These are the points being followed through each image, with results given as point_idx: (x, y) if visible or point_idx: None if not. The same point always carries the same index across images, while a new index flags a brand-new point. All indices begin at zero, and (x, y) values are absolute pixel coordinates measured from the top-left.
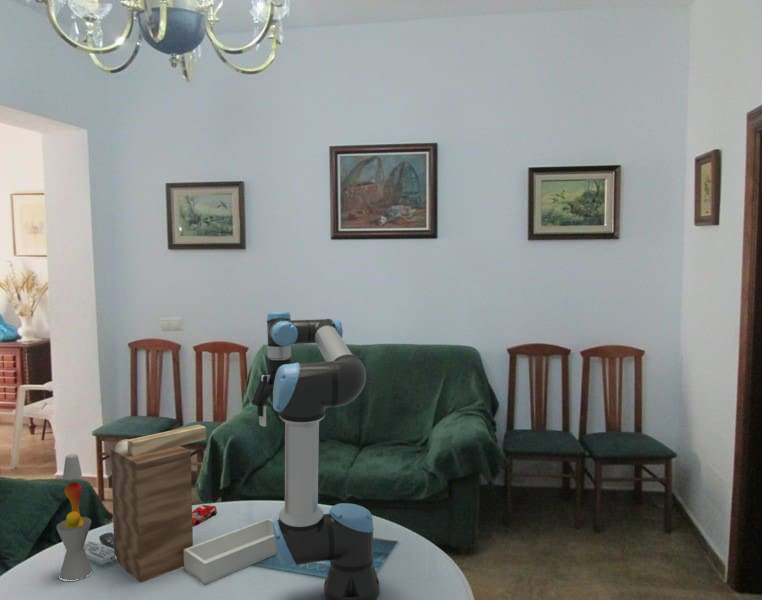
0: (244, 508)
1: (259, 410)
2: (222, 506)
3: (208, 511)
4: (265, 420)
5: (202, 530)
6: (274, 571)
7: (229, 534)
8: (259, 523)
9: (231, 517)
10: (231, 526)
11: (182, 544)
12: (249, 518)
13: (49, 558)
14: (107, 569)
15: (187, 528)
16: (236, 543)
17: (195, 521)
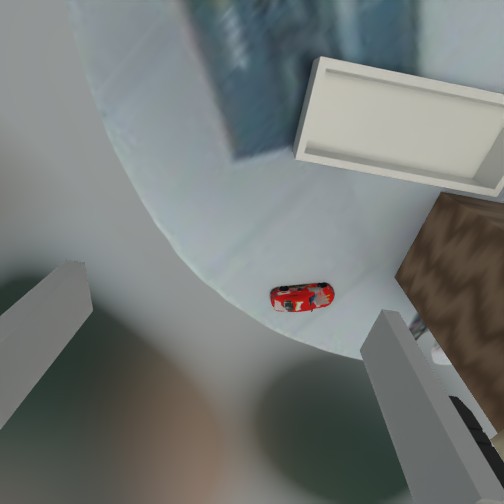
0: (231, 268)
1: (498, 467)
2: (247, 299)
3: (294, 293)
4: (407, 345)
5: (333, 263)
6: (427, 3)
7: (402, 172)
8: (327, 157)
9: (270, 261)
10: (297, 237)
11: (486, 210)
12: (255, 234)
13: None
14: None
15: (495, 220)
16: (377, 162)
17: (327, 287)
